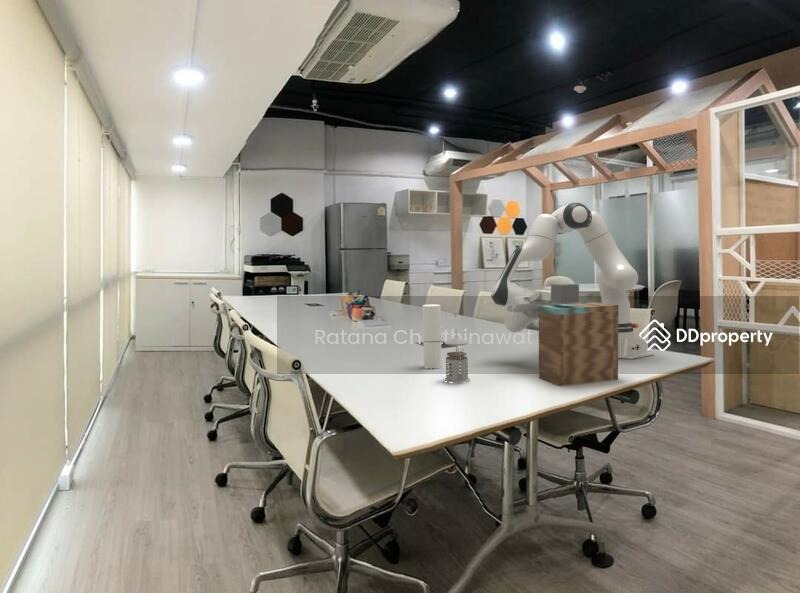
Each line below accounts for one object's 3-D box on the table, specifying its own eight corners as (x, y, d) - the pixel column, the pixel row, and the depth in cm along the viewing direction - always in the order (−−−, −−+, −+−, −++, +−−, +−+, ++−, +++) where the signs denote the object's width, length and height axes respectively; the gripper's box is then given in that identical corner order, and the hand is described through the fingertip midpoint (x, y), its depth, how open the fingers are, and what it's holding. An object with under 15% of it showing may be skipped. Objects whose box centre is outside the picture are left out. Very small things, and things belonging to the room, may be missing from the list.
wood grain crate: (595, 372, 196) (595, 302, 194) (618, 379, 184) (618, 305, 182) (539, 378, 188) (538, 305, 186) (558, 385, 177) (558, 308, 175)
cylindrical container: (441, 365, 215) (440, 304, 213) (441, 369, 208) (440, 306, 206) (424, 365, 216) (423, 304, 214) (423, 369, 208) (422, 306, 206)
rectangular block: (545, 297, 199) (546, 281, 198) (578, 302, 180) (578, 284, 179) (529, 298, 197) (529, 282, 196) (561, 303, 178) (561, 285, 177)
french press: (465, 376, 195) (464, 309, 193) (476, 383, 183) (475, 312, 181) (439, 378, 192) (438, 310, 190) (449, 385, 181) (448, 313, 179)
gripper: (503, 303, 202) (518, 287, 190) (549, 301, 208) (567, 284, 196) (507, 318, 200) (523, 302, 188) (554, 315, 206) (572, 300, 194)
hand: (546, 293), depth 192 cm, fingers closed on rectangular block, 4 cm apart
